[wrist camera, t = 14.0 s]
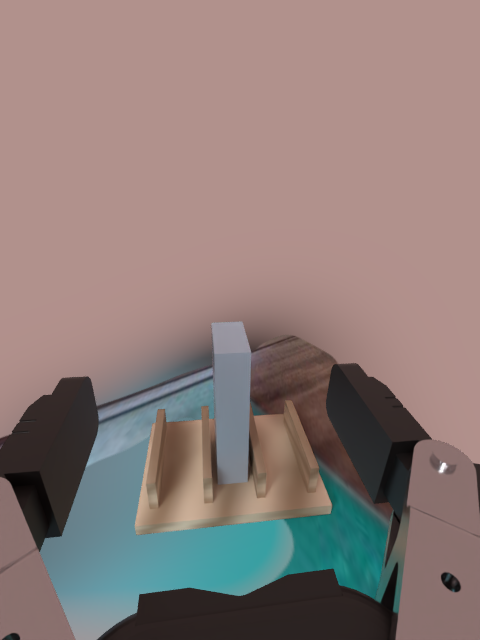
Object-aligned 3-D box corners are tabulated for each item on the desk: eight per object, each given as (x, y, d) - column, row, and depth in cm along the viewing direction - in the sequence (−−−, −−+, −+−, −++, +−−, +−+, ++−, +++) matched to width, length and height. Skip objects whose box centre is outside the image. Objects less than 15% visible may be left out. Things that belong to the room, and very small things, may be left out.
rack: (136, 535, 30) (129, 500, 28) (153, 430, 41) (149, 401, 40) (330, 513, 32) (336, 480, 30) (294, 420, 43) (297, 391, 42)
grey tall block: (217, 484, 33) (214, 354, 27) (214, 440, 38) (211, 322, 32) (247, 481, 33) (251, 352, 27) (240, 438, 39) (242, 321, 33)
